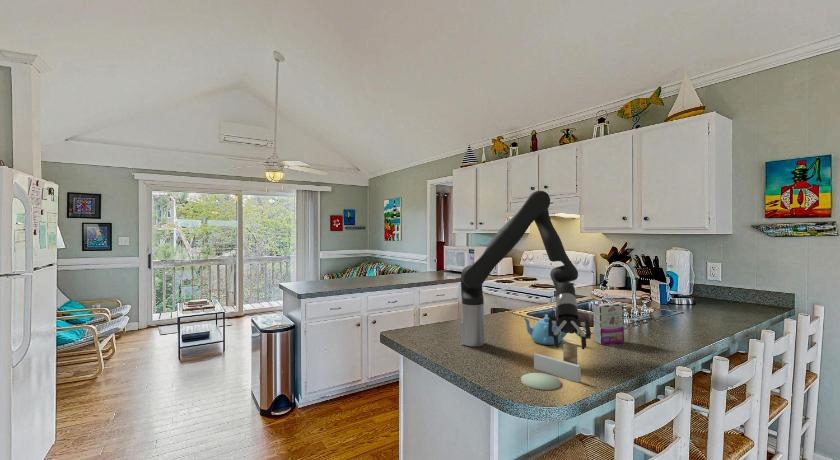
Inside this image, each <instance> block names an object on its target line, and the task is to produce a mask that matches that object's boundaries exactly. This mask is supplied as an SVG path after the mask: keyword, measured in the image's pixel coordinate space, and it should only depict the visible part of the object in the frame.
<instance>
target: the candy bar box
mask: <svg viewBox="0 0 840 460" xmlns="http://www.w3.org/2000/svg"><path fill="white" fill-rule="evenodd" d="M623 306H624V305H623V303H619V302H603V303H593V304H592V310H593V312H592V313H593V338H594V343H597V344H598V345H601V346H604V345H605V346H606V345H614V344H615V345H616V344H623V343H624V344H625V333H624V332H625V330H624V308H623Z"/></svg>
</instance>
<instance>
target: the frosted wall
mask: <svg viewBox="0 0 840 460" xmlns="http://www.w3.org/2000/svg"><path fill="white" fill-rule="evenodd" d="M533 369H534V370H537V371H539V372H543V373H545V374H548V375H552V376H554V377H557V378H558V377H559V378H562V379H564V380H569V381H571V382H574V383H581V381H582V379H581V377H582V376H581V373H582V371H581V365H579V364H578V365H576V364H573V363H569V362H566V361H564V360H561V359H559V358H555V357H551V356H548V355H547V356H546V355H544V354H540V353H534V354H533Z"/></svg>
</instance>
